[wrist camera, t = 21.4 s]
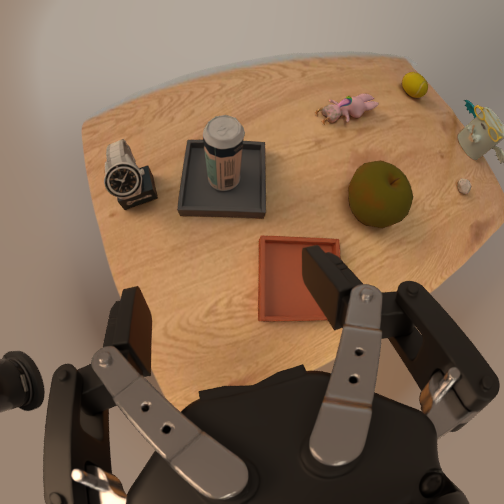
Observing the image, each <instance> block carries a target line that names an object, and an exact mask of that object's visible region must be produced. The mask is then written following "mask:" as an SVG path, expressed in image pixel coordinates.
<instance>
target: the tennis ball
mask: <svg viewBox="0 0 504 504" xmlns="http://www.w3.org/2000/svg"><path fill="white" fill-rule="evenodd" d="M402 86H403V89H404V90H405V92H406V93H407V94H408V95H410V96H412V97H415V98H420V97H422V96H424V95H425V94H426V93H427V90H428V84H427V81H426V80H425V78H424V77H423V76H421V75H420V74H419V73H416V72H410V73H407V74H406V75H405V76H404V77H403V80H402Z"/></svg>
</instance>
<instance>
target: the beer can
mask: <svg viewBox="0 0 504 504" xmlns="http://www.w3.org/2000/svg"><path fill="white" fill-rule="evenodd" d="M244 134H245V132H244V128H243V126H242V125H241V124H240V123H239V121H238V120H237V119H236V118H234V117H231V116H228V115H223V116H216V117H215V118H213V119H212V120H210V121H209V122H208V124H207V125H206V126H205V128H204V131H203V140H204V149H205V158H206V166H207V175H208V181H209V183H210V185H211V186H212V187H213V188H215V189H217V190H220V191H227V190H231V189H233V188H234V187H236V186H237V185H238V183H239V181H240V169H241V158H242V148H243V138H244Z"/></svg>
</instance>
